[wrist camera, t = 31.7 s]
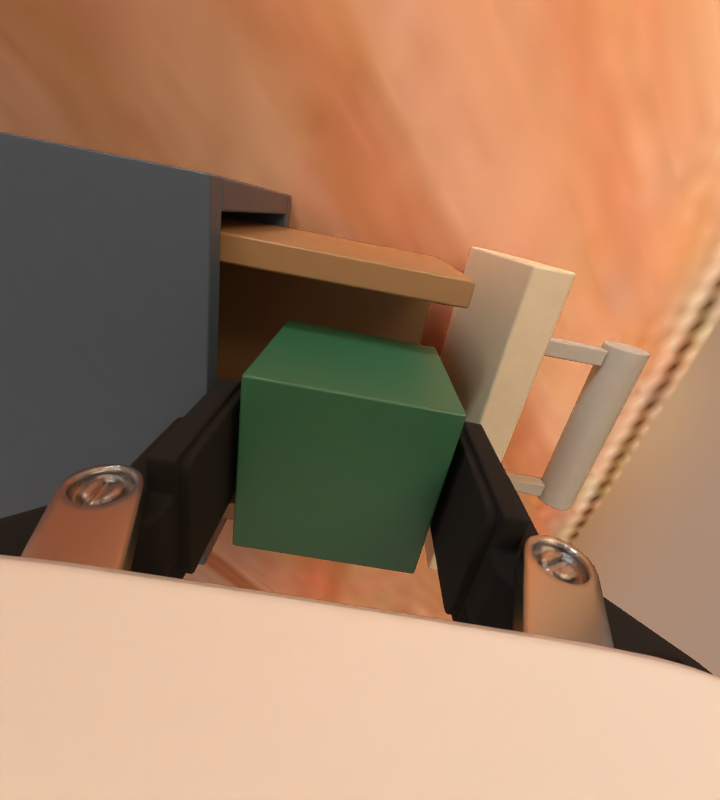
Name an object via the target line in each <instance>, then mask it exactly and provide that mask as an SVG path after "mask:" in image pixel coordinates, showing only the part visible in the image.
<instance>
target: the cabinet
mask: <svg viewBox="0 0 720 800" xmlns="http://www.w3.org/2000/svg"><path fill="white" fill-rule="evenodd" d="M290 207H291V196H290V195H287V194H284V193H280V192H276V191H273V190H269V189H265V188H262V187H258V186H254V185H250V184H247V183H243V182H239V181H236V180H232V179H228V178H224V177H221V176H217V175H214V174H210V173H205V172H200V171H195V170H190V169H185V168H180V167H175V166H170V165H165V164H160V163H155V162H150V161H145V160H140V159H135V158H130V157H125V156H120V155H115V154H110V153H105V152H100V151H95V150H90V149H85V148H80V147H75V146H70V145H65V144H60V143H55V142H50V141H45V140H40V139H35V138H30V137H25V136H20V135H15V134H10V133H5V132H0V519H1V518H4V517H8V516H11V515H15V514H18V513H22V512H25V511H29V510H33V509H36V508H40V507H43V506H47V505H48V504H49V502H50V500H51V499H52V497H53V495H54V493H55V491H56V489H57V488H58V486H59V485H60V484H61V483H62V481H63V480H65V479H66V478H67V477H69V476H70V475H72V474H73V473H76V472H78V471H80V470H83V469H85V468H89V467H93V466H96V465H104V464H123V465H127V466H130V465H131V464H132V463H133V462H134V461H135V460H136V459H137V458H138V457H139V456H140V455H141V454H142V453H143V452H144V451H145V450H146V449H147V448H148V447H149V446H150V445H151V444H152V443H153V442H154V441H155V440H156V439H157V438H158V437H159V436H160V435H161V434H162V433H163V432H164V431H165V430H166V429H167V428H168V427H169V426H170V425H171V424H172V423H173V422H174V421H175V420H176V419H177V418H178V417H184V416H185V415H186V414H187V413H188V412H189V411H190V410H191V409H192V408H193V407H194V406H195V405H196V404H197V403H198V402H199V400H200V399H201V398H202V397H203V396H204V395H205V394H206V393H207V392H208V391H209V390H210V389H211V388H212V387H213V386H214V385H215V384H216V383H217V355H218V317H219V279H220V241H221V215H224V216H229V217H234V218H239V219H244V220H249V221H254V222H260V223H265V224H270V225H275V226H280V227H285V228H289V218H290ZM226 520H227V518H222V519H221V520H220V522H219V524H218V526H217V528H216V530H215V532H214V534H213V536H212V538H211V540H210V542H209V544H208V546H207V548H206V550H205V552H204V554H203V556H202V558H201V560H200V562H199V563H198V564H202V565H204V564H205V563H206V561H207V559H208V557H209V555H210V553H211V551H212V547H213V546H214V544H215V542H216V540H217V538H218V536H219V534H220V532H221V530H222V528H223V526H224V524H225V522H226Z"/></svg>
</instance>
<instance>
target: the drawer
mask: <svg viewBox="0 0 720 800" xmlns="http://www.w3.org/2000/svg"><path fill="white" fill-rule="evenodd" d="M574 278H575V273H573V272H571V271H567V270H564V269H560V268H556V267H552V266H549V265H545V264H541V263H538V262H534V261H530V260H527V259H523V258H519V257H516V256H512V255H508V254H505V253H501V252H497V251H493V250H488V249H483V248H478V247H471V248H470V252H469V255H468V259H467V263H466V266H465V270H464V273H461V272H460V271H458V270H457V269H455V268H454V267H452V266H450V265H449V264H447V263H446V262H444V261H443V260H441V259H440V258H438V257H434V256H429V255H424V254H418V253H413V252H408V251H403V250H398V249H393V248H388V247H383V246H377V245H372V244H367V243H362V242H357V241H352V240H347V239H342V238H336V237H331V236H326V235H321V234H316V233H311V232H306V231H301V230H295V229H290V228H285V227H280V226H275V225H270V224H265V223H260V222H254V221H249V220H244V219H239V218H234V217H229V216H224V215H221V241H220V279H219V317H218V355H217V382H218V381H219V380H220V379H221V378H223V379H229V380H235V381H240V382H241V378H242V375H243V374H244V372H245V371H246V370H247V369H248V368H249V366H250V365H251V364H252V363H253V362H254V360H255V359H256V358H257V357H258V356H259V355H260V353H261V352H262V351H263V350H264V349H265V347H266V346H267V345H268V344H269V343H270V341H271V340H272V339H273V338H274V337H275V336H276V334H277V333H278V332H279V331H280V330H281V328H282V327H283V326H284V325H285V324H286V322H287V321H289V320H291V321H296V322H302V323H307V324H312V325H318V326H323V327H328V328H334V329H339V330H345V331H350V332H355V333H361V334H366V335H372V336H377V337H382V338H388V339H393V340H399V341H404V342H409V343H415V344H420V342H421V338H422V334H423V330H424V326H425V322H426V318H427V314H428V310H429V306H430V303H431V302H433V303H438V304H444V305H449V306H454V309H453V313H452V316H451V320H450V323H449V327H448V331H447V334H446V338H445V341H444V345H443V348H442V352H441V356H440V359H441V361H442V363H443V365H444V368H445V370H446V372H447V374H448V376H449V378H450V381H451V383H452V385H453V387H454V389H455V392H456V394H457V396H458V398H459V400H460V403H461V405H462V407H463V409H464V411H465V413H466V419H465V422H471V423H477V424H481V425H482V427H483V429H484V431H485V433H486V435H487V437H488V438H489V440H490V442H491V444H492V446H493V448H494V450H495V452H496V454H497V456H498V458H499V460H500V462H502V460H503V457H504V455H505V452H506V450H507V447H508V445H509V442H510V440H511V437H512V434H513V432H514V429H515V427H516V424H517V422H518V419H519V417H520V414H521V412H522V409H523V407H524V404H525V402H526V399H527V397H528V394H529V392H530V389H531V387H532V384H533V382H534V379H535V376H536V374H537V371H538V369H539V366H540V364H541V361H542V359H543V356H549V357H554V358H560V359H565V360H570V361H576V362H581V363H586V364H592V365H593V367H592V369H591V371H590V373H589V376H588V378H587V380H586V382H585V384H584V386H583V389H582V391H581V393H580V395H579V397H578V400H577V402H576V404H575V406H574V408H573V410H572V413H571V415H570V417H569V419H568V421H567V424H566V426H565V428H564V430H563V432H562V435H561V437H560V439H559V441H558V443H557V445H556V448H555V450H554V452H553V454H552V456H551V459H550V461H549V463H548V465H547V467H546V469H545V472H544V474H543V476H542V478H538V477H533V476H527V475H521V474H515V473H510V472H506V474H507V475H508V477H509V478H510V480H511V482H512V484H513V486H514V488H515V490H516V492H519V493H525V494H531V495H536V496H537V497H538V498H539V499H540V500H541V501H542V502H543V503H545V504H546V505H548V506H550V507H552V508H555V509H558V510H569V509H570V508H571V507H572V505H573V503H574V501H575V499H576V497H577V495H578V494H579V492H580V490H581V488H582V486H583V484H584V482H585V480H586V478H587V476H588V474H589V472H590V470H591V468H592V466H593V465H594V463H595V461H596V459H597V457H598V455H599V453H600V451H601V449H602V447H603V445H604V443H605V441H606V439H607V437H608V436H609V434H610V432H611V430H612V428H613V426H614V424H615V422H616V420H617V418H618V416H619V414H620V412H621V410H622V408H623V406H624V405H625V403H626V401H627V399H628V397H629V395H630V393H631V391H632V389H633V387H634V385H635V383H636V381H637V379H638V377H639V376H640V374H641V372H642V370H643V368H644V366H645V364H646V362H647V360H648V358H649V356H650V353H648V352H647V351H645V350H643V349H640V348H637V347H635V346H631V345H628V344H624V343H620V342H615V341H605V342H604V343H603V345H602V347H600V346H595V345H590V344H584V343H579V342H574V341H569V340H563V339H558V338H553V337H551V336H552V334H553V331H554V329H555V326H556V324H557V321H558V318H559V316H560V313H561V311H562V308H563V306H564V303H565V301H566V298H567V296H568V293H569V291H570V288H571V286H572V283H573V281H574ZM234 507H235V493H234V495H233V497H232V499H231V501H230V503H229V505H228V507H227V509H226V511H225V513H224V515H223V517H222V518H227V519H233V520H234ZM425 548H426V555H427V562H428V568H429V569H433V570H437V564H436V558H435V553H434V547H433V541H432V535H431V530H430V527H429V530H428V533H427V536H426V539H425Z"/></svg>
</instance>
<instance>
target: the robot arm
mask: <svg viewBox="0 0 720 800" xmlns="http://www.w3.org/2000/svg"><path fill="white" fill-rule="evenodd" d="M240 397H241V382H240V381H235V380H229V379H223V378H221V379H220V380H219V381H218V382H217V383H216V384H215V385H214V386H213V387H212V388H211V389H210V390H209V391H208V392H207V393H206V394H205V395H204V396H203V397H202V398H201V399H200V400H199V402H198V403H197V404H196V405H195V406H194V407H193V408H192V409H191V410H190V411H189V412H188V413H187V414H186V415H185V416H184V417H178V418H177V419H176V420H175V421H174V422H173V423H172V424H171V425H170V426H169V427H168V428H167V429H166V430H165V431H164V432H163V433H162V434H161V435H160V436H159V437H158V438H157V439H156V440H155V441H154V442H153V443H152V444H151V445H150V446H149V447H148V448H147V449H146V450H145V451H144V452H143V453H142V454H141V455H140V456H139V457H138V458H137V459H136V460H135V461H134V462H133V463H132V464H131V465H130V466H127V465H123V464H104V465H96V466H93V467H89V468H85V469H83V470H80V471H78V472H76V473H73V474H72V475H70V476H69V477H67V478H66V479H65V480H63V481H62V483H61V484H60V485H59V486H58V488H57V489H56V491H55V493H54V495H53V497H52V499H51V500H50V502H49V504H48V505H47V506H43V507H40V508H36V509H33V510H29V511H25V512H22V513H18V514H15V515H11V516H8V517H4V518H1V519H0V800H720V677H717V676H714V675H713V674H712V673H710V672H709V671H708V670H707V669H705V668H704V667H703V666H701V665H700V664H699V663H698V662H696V661H695V660H693V659H692V658H691V657H689V656H688V655H686V654H685V653H683V652H682V651H681V650H679V649H678V648H676V647H675V646H673V645H672V644H670V643H669V642H668V641H666V640H665V639H663V638H662V637H660V636H659V635H658V634H656V633H655V632H653V631H652V630H650V629H649V628H648V627H646V626H645V625H643V624H642V623H640V622H639V621H637V620H636V619H634V618H633V617H632V616H630V615H629V614H627V613H626V612H624V611H623V610H622V609H620V608H619V607H617V606H616V605H614V604H613V603H611V602H610V601H609V600H607V599H606V598H604V597H603V595H602V590H601V585H600V581H599V576H598V574H597V572H596V569H595V567H594V565H593V564H592V563H591V561H590V560H589V559H588V558H587V557H586V556H585V555H584V554H583V553H581V552H580V551H579V550H578V549H576V548H575V547H574V546H572V545H571V544H569V543H567V542H565V541H563V540H561V539H559V538H555V537H552V536H548V535H538V533H537V531H536V529H535V527H534V525H533V523H532V521H531V519H530V517H529V515H528V513H527V511H526V509H525V507H524V505H523V503H522V501H521V500H520V498H519V496H518V494H517V492H516V490H515V488H514V486H513V484H512V482H511V480H510V478H509V477H508V475H507V474H506V472H505V470H504V468H503V466H502V464H501V462H500V460H499V458H498V456H497V454H496V452H495V450H494V448H493V446H492V444H491V442H490V440H489V438H488V437H487V435H486V433H485V431H484V429H483V427H482V425H481V424H477V423H471V422H464V425H463V428H462V431H461V434H460V437H459V440H458V443H457V446H456V449H455V452H454V455H453V458H452V461H451V464H450V467H449V470H448V473H447V476H446V479H445V482H444V485H443V488H442V491H441V494H440V497H439V500H438V503H437V506H436V509H435V512H434V515H433V518H432V521H431V524H430V530H431V535H432V541H433V547H434V553H435V558H436V564H437V570H438V575H439V581H440V587H441V592H442V598H443V604H444V609H445V612H446V613H447V614H451V615H452V619H453V621H450V620H444V619H438V618H431V617H425V616H419V615H413V614H407V613H400V612H394V611H387V610H381V609H375V608H368V607H362V606H355V605H349V604H343V603H336V602H330V601H323V600H317V599H310V598H304V597H297V596H291V595H285V594H278V593H272V592H265V591H259V590H252V589H245V588H239V587H232V586H225V585H219V584H212V583H205V582H199V581H192V580H185V579H183V577H184V575H185V573H189V574H192V573H193V572H194V571H195V569H196V567H197V565H198V563H199V562H200V560H201V558H202V556H203V554H204V552H205V550H206V548H207V546H208V544H209V542H210V540H211V538H212V536H213V534H214V532H215V530H216V528H217V526H218V524H219V522H220V520H221V519H222V517H223V515H224V513H225V511H226V509H227V507H228V505H229V503H230V501H231V499H232V497H233V495H234V493H235V489H236V470H237V452H238V433H239V415H240Z"/></svg>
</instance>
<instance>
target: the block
mask: <svg viewBox="0 0 720 800" xmlns="http://www.w3.org/2000/svg"><path fill="white" fill-rule="evenodd" d="M465 419H466V413H465V411H464V409H463V407H462V405H461V403H460V400H459V398H458V396H457V394H456V392H455V389H454V387H453V385H452V383H451V381H450V378H449V376H448V374H447V372H446V370H445V368H444V365H443V363H442V361H441V359H440V357H439V354H438V352H437V350H436V348H435V347H431V346H426V345H420V344H415V343H409V342H404V341H399V340H393V339H388V338H382V337H377V336H372V335H366V334H361V333H355V332H350V331H345V330H339V329H334V328H328V327H323V326H318V325H312V324H307V323H302V322H296V321H291V320H289V321H287V322H286V324H285V325H284V326H283V327H282V328H281V330H280V331H279V332H278V333H277V334H276V336H275V337H274V338H273V339H272V340H271V341H270V343H269V344H268V345H267V346H266V347H265V349H264V350H263V351H262V352H261V353H260V355H259V356H258V357H257V358H256V359H255V360H254V362H253V363H252V364H251V365H250V366H249V368H248V369H247V370H246V371H245V372H244V374H243V375H242V378H241V397H240V415H239V433H238V452H237V470H236V489H235V507H234V526H233V545H237V546H243V547H249V548H255V549H262V550H268V551H274V552H280V553H287V554H293V555H299V556H305V557H312V558H318V559H324V560H331V561H337V562H343V563H349V564H356V565H362V566H368V567H374V568H381V569H387V570H393V571H399V572H406V573H414V571H415V569H416V566H417V563H418V560H419V557H420V554H421V551H422V548H423V545H424V542H425V539H426V536H427V533H428V530H429V527H430V524H431V521H432V518H433V515H434V512H435V509H436V506H437V503H438V500H439V497H440V494H441V491H442V488H443V485H444V482H445V479H446V476H447V473H448V470H449V467H450V464H451V461H452V458H453V455H454V452H455V449H456V446H457V443H458V440H459V437H460V434H461V431H462V428H463V425H464V422H465Z"/></svg>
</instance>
